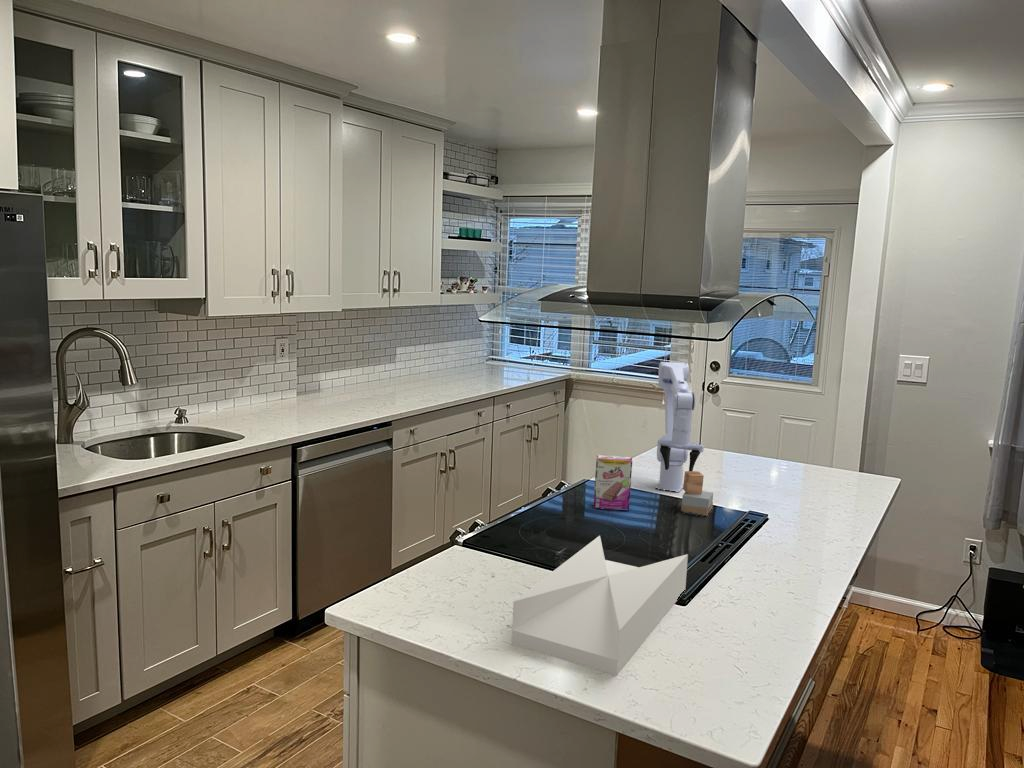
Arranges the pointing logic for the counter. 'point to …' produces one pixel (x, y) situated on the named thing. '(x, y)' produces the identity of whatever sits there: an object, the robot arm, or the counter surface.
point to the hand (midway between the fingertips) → (678, 470)
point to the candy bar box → (612, 482)
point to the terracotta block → (693, 482)
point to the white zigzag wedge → (596, 608)
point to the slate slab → (698, 499)
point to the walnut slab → (696, 509)
